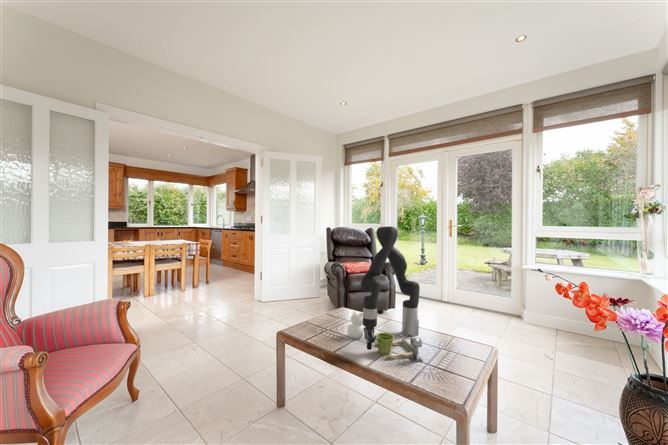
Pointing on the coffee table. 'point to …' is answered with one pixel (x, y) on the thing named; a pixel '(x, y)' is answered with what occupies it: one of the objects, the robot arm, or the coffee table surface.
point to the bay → (399, 356)
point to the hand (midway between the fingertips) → (369, 349)
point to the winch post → (415, 348)
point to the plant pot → (384, 343)
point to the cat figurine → (356, 325)
